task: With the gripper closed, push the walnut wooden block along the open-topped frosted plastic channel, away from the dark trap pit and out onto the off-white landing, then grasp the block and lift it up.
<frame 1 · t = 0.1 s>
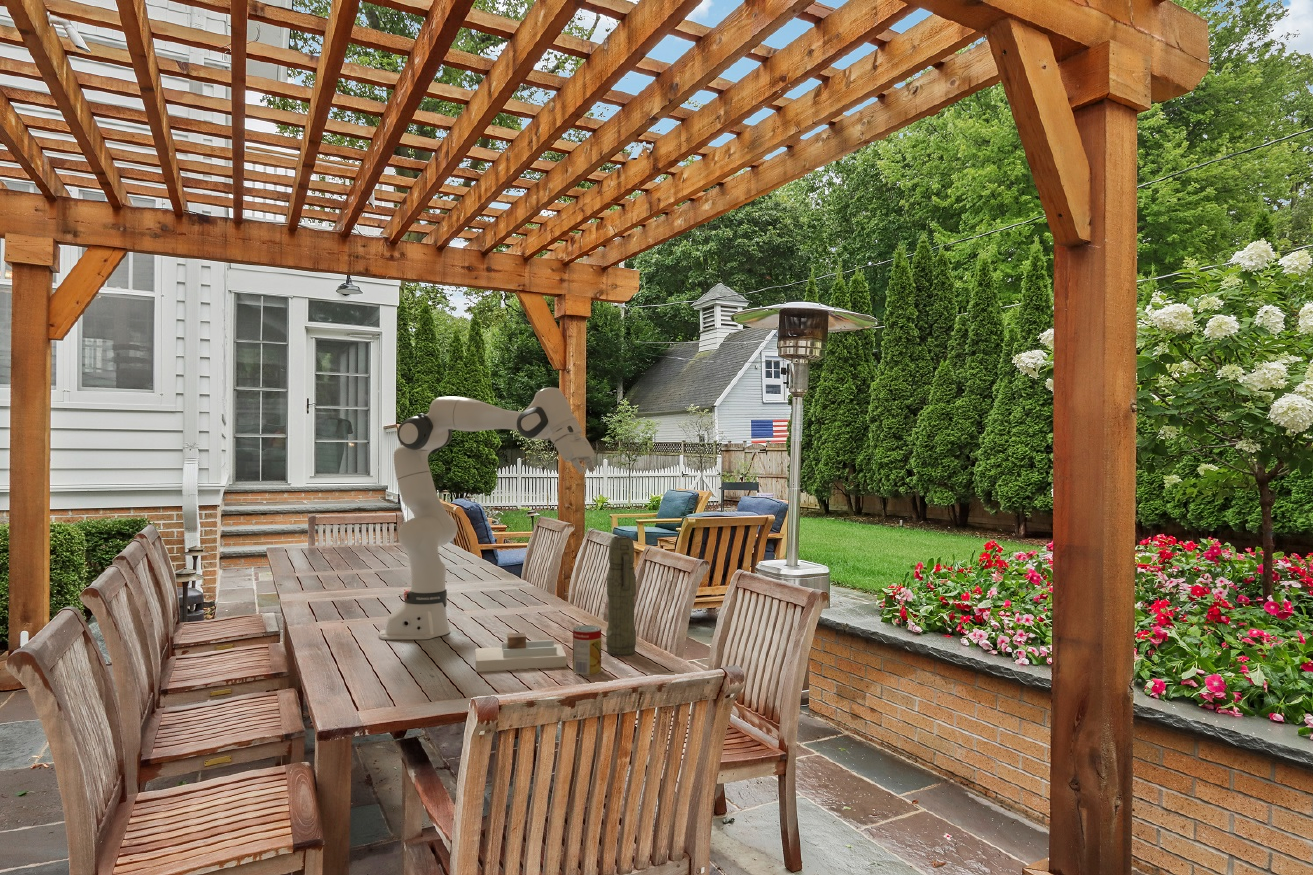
hand: (587, 471, 255), 54 cm above the table, tool tilted 30°, fingers open, 8 cm apart
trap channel: (520, 662, 234), on the table
thermos: (621, 653, 246), on the table
walnut block: (516, 652, 234), point 3 cm above the table, touching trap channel
canned food: (586, 672, 225), on the table
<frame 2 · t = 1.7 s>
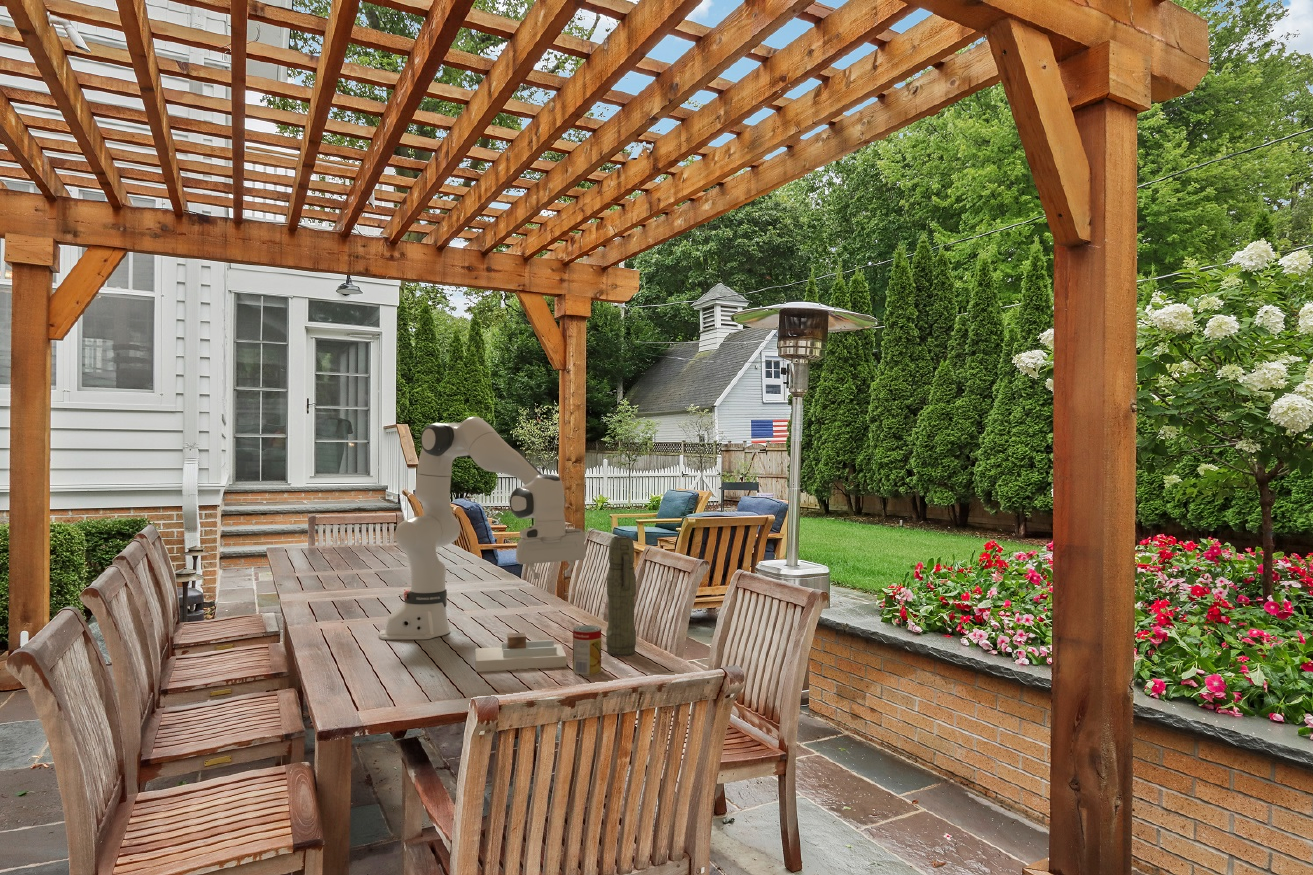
hand: (552, 577, 237), 24 cm above the table, tool pointing down, fingers open, 8 cm apart
nothing on the table moved.
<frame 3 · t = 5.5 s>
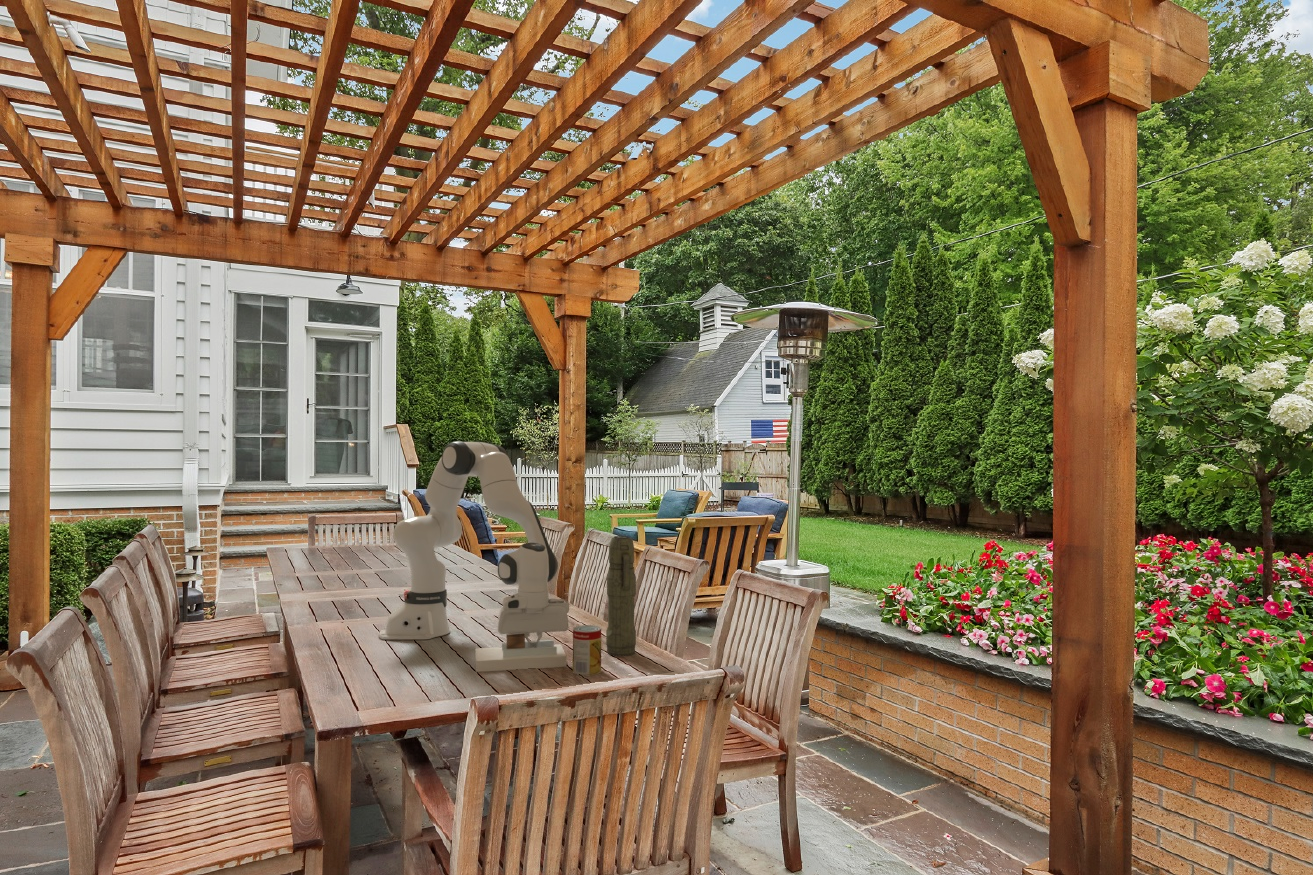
hand: (533, 647, 235), 4 cm above the table, tool pointing down, fingers closed
walnut block: (515, 652, 234), point 3 cm above the table, touching gripper, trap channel
everything else where it was.
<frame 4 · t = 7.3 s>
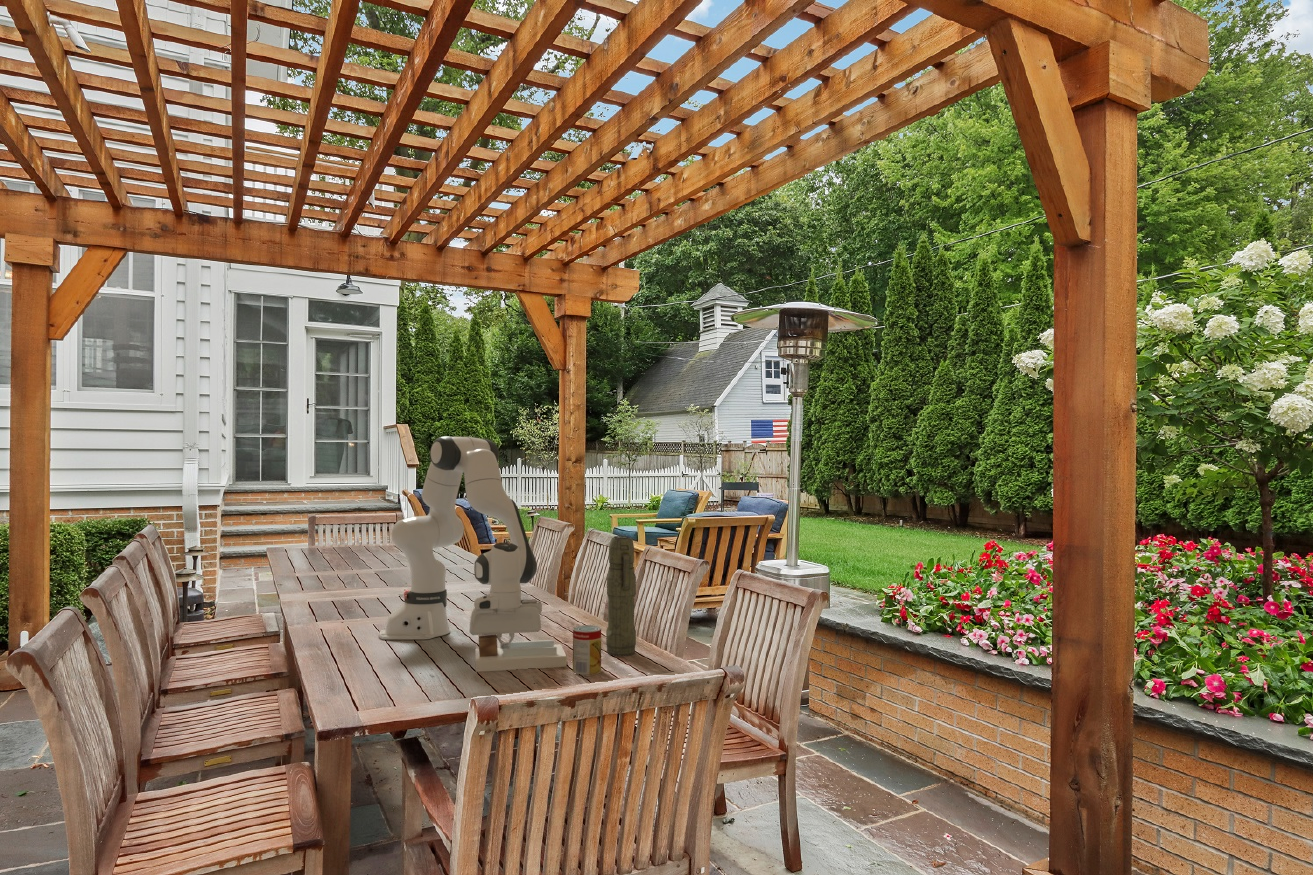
hand: (505, 648, 233), 4 cm above the table, tool pointing down, fingers closed
walnut block: (488, 653, 232), point 3 cm above the table, touching gripper, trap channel
everything else where it was.
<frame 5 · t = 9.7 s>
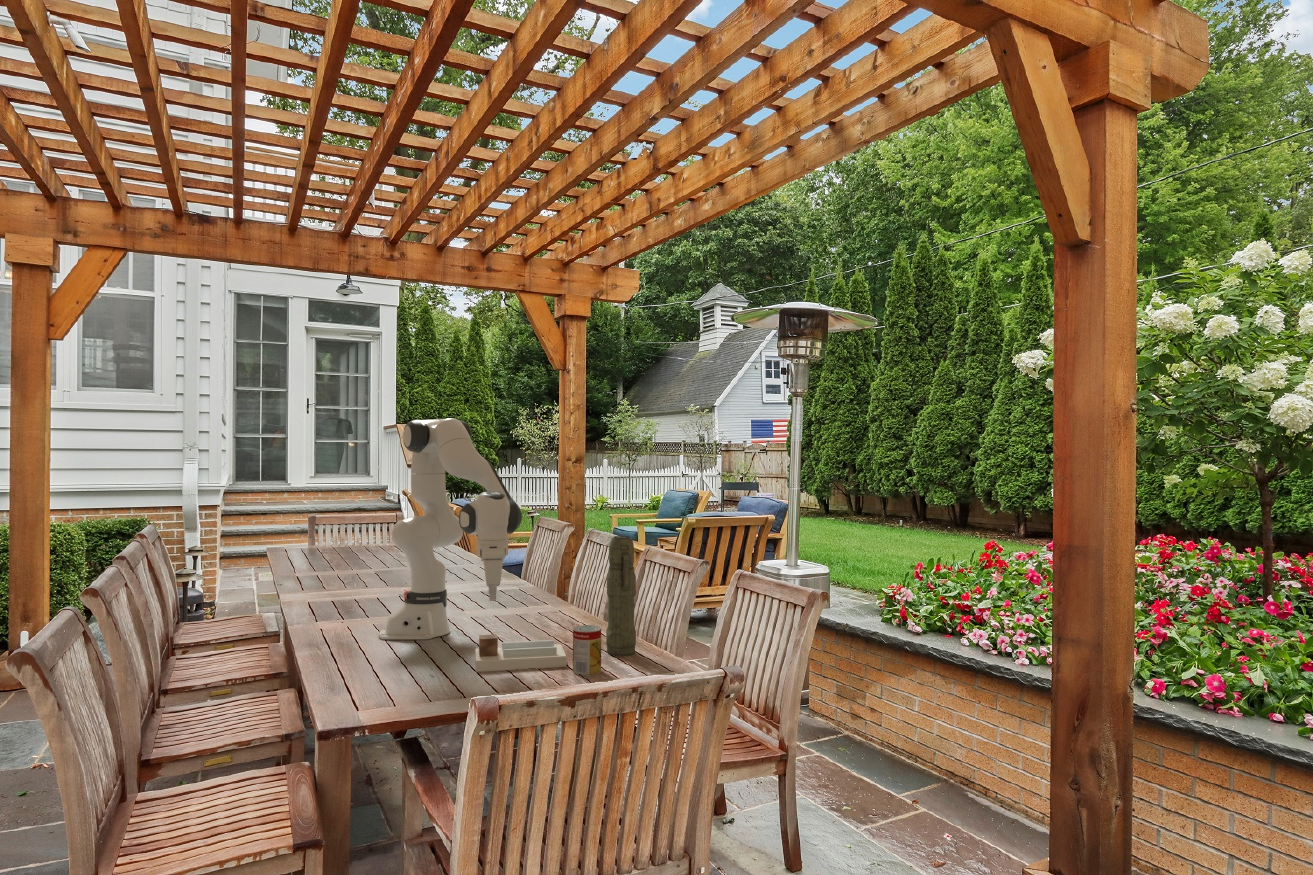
hand: (492, 597, 233), 19 cm above the table, tool pointing down, fingers open, 8 cm apart
walnut block: (488, 654, 232), point 3 cm above the table, touching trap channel
everything else where it was.
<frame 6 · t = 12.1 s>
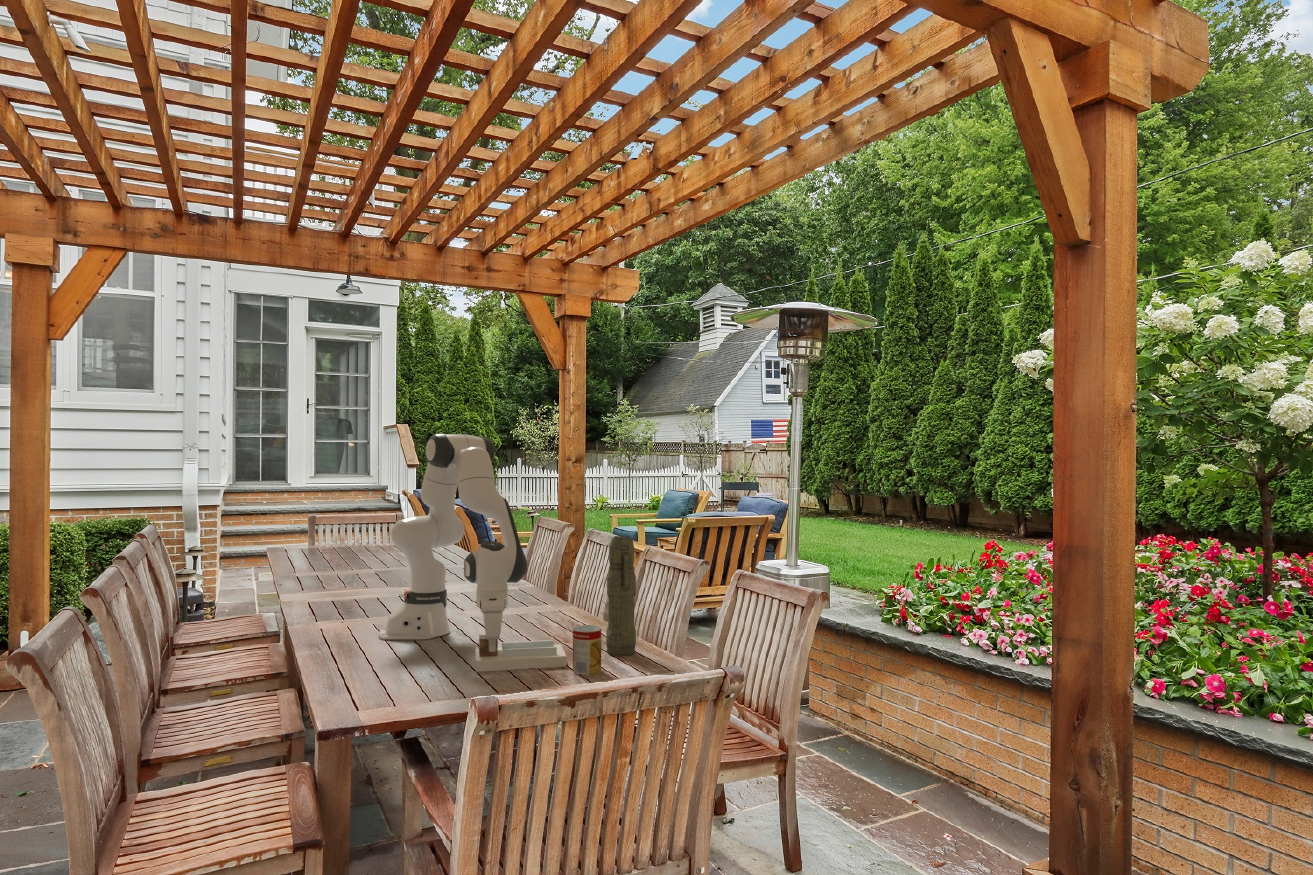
hand: (491, 648, 232), 5 cm above the table, tool pointing down, fingers open, 6 cm apart
walnut block: (488, 654, 232), point 3 cm above the table, touching gripper, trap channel
everything else where it was.
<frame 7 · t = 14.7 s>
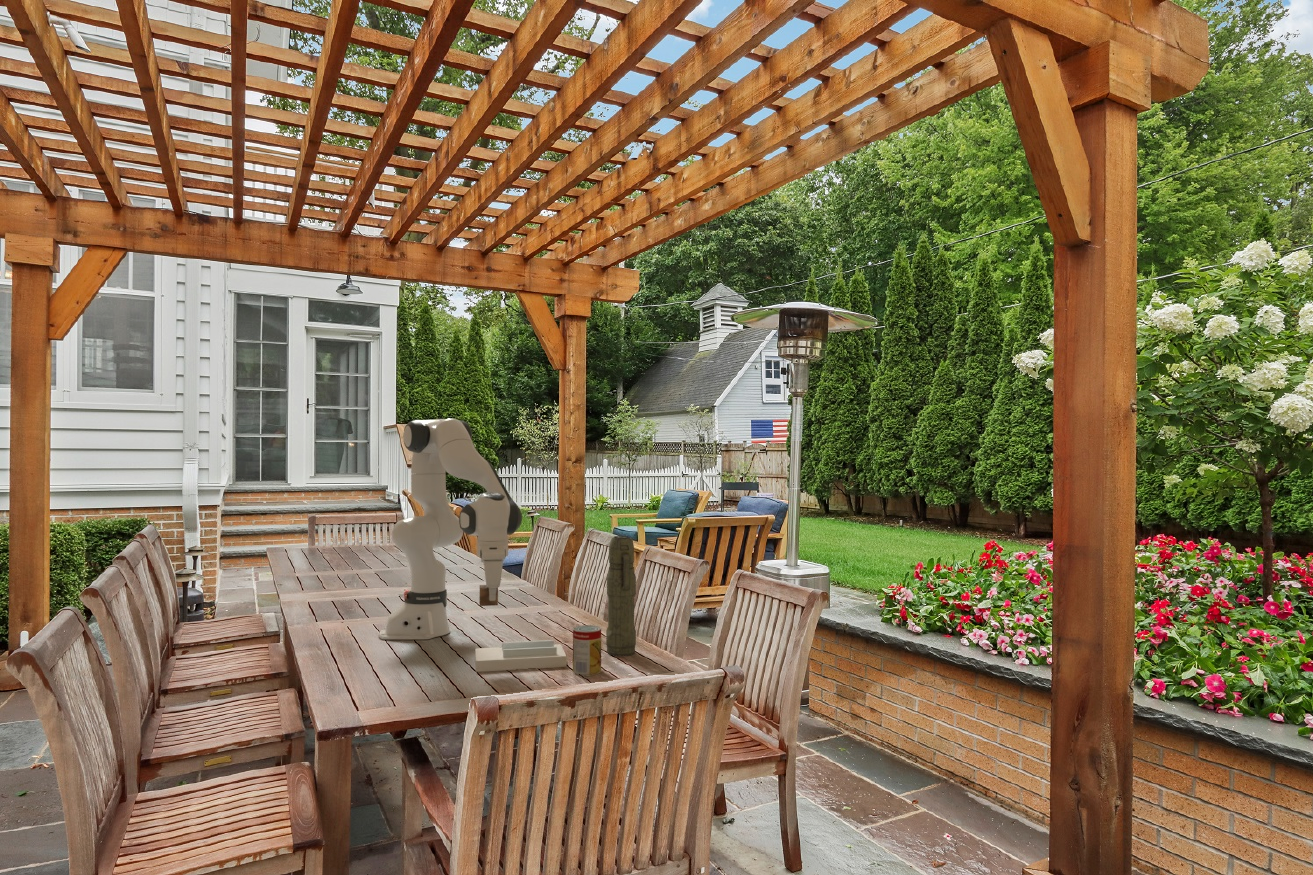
hand: (492, 598, 233), 19 cm above the table, tool pointing down, fingers closed on walnut block, 5 cm apart
walnut block: (488, 603, 232), point 17 cm above the table, touching gripper
everything else where it was.
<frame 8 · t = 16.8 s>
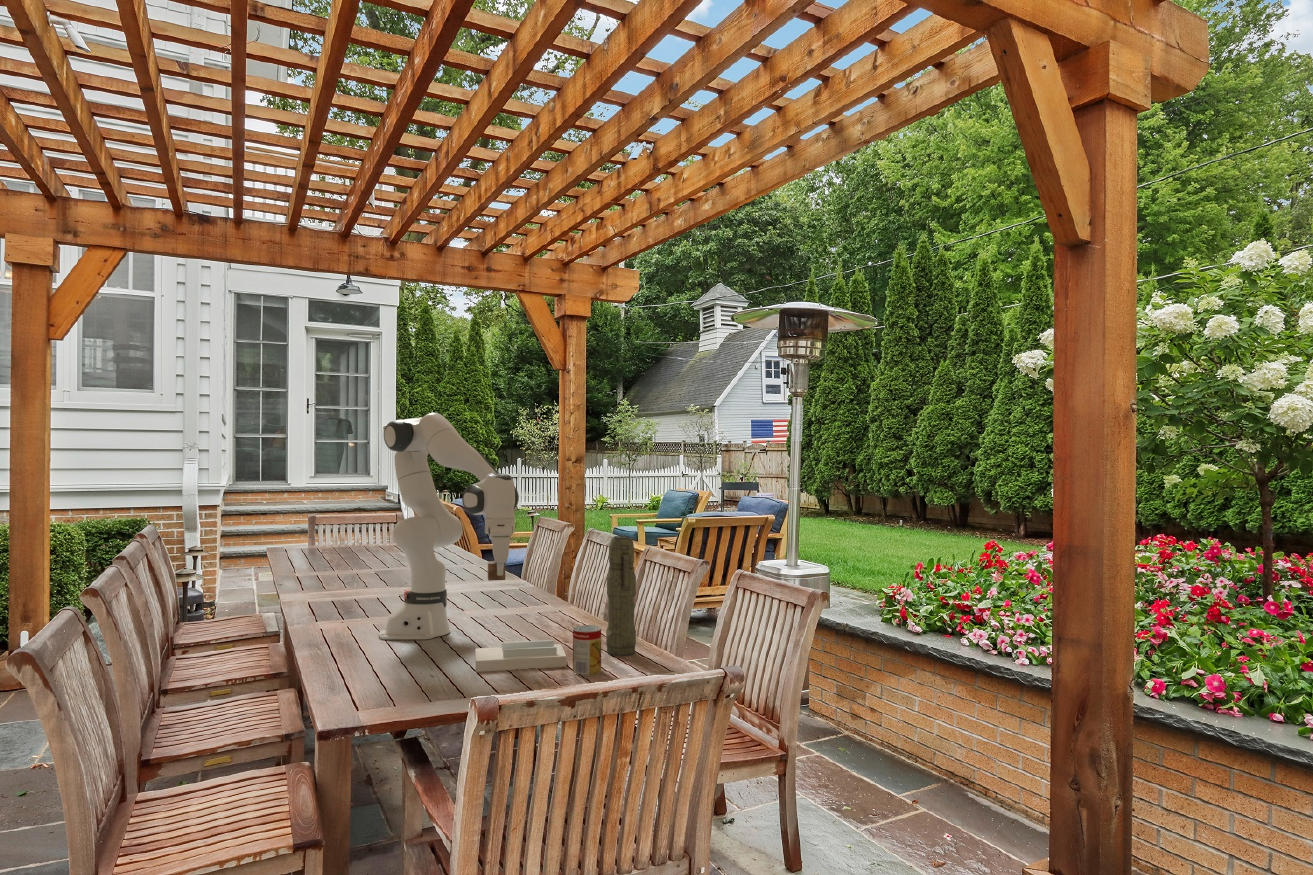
hand: (499, 573, 244), 24 cm above the table, tool pointing down, fingers closed on walnut block, 5 cm apart
walnut block: (496, 578, 244), point 22 cm above the table, touching gripper
everything else where it was.
at the end: the gripper is holding walnut block; walnut block point 22.5 cm above the table; walnut block moved 23.0 cm from its start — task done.
